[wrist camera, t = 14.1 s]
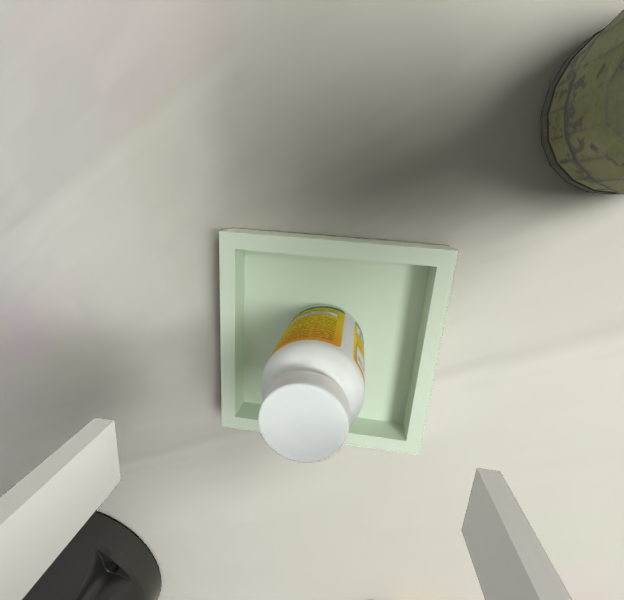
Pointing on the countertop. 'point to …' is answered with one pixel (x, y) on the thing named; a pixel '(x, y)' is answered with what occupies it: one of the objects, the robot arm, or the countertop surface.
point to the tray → (350, 297)
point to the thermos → (589, 114)
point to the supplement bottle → (313, 385)
